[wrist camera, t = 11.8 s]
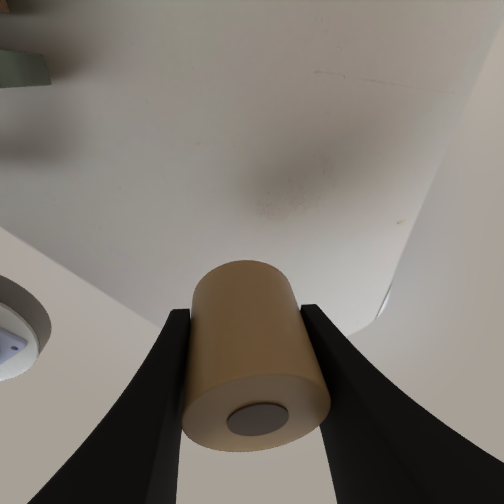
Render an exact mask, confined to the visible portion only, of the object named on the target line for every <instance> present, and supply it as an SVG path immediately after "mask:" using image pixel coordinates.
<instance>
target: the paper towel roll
mask: <svg viewBox="0 0 504 504" xmlns="http://www.w3.org/2000/svg"><path fill="white" fill-rule="evenodd" d="M190 320H191V321H190V331H189V341H188V349H187V359H186V369H185V379H184V389H183V399H182V409H181V426H182V429H183V431H184V433H185V434H186V435H187V436H188V438H189V439H191V440H192V441H194V442H195V443H197V444H199V445H201V446H204V447H207V448H210V449H214V450H219V451H228V452H250V451H258V450H265V449H270V448H274V447H278V446H281V445H284V444H287V443H290V442H292V441H294V440H297V439H299V438H301V437H303V436H305V435H306V434H308V433H309V432H311V431H313V430H314V429H315V428H316V427H318V426H319V425H320V424H321V423H322V422H323V421H324V419H325V418H326V417H327V415H328V413H329V410H330V407H331V397H330V393H329V391H328V388H327V385H326V382H325V380H324V377H323V374H322V371H321V368H320V366H319V363H318V360H317V357H316V355H315V352H314V349H313V346H312V344H311V341H310V338H309V335H308V332H307V330H306V327H305V324H304V321H303V319H302V316H301V313H300V310H299V307H298V305H297V302H296V299H295V296H294V294H293V291H292V288H291V285H290V283H289V281H288V279H287V278H286V277H285V275H284V274H283V273H282V272H280V271H279V270H278V269H276V268H275V267H273V266H271V265H269V264H266V263H263V262H259V261H253V260H241V261H234V262H229V263H226V264H223V265H221V266H218V267H217V268H215V269H213V270H211V271H210V272H209V273H207V274H206V275H205V276H204V277H203V278H202V279H201V280H200V282H199V283H198V285H197V286H196V288H195V291H194V294H193V299H192V309H191V319H190Z"/></svg>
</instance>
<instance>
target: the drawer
mask: <svg viewBox="0 0 504 504" xmlns="http://www.w3.org/2000/svg"><path fill="white" fill-rule="evenodd" d="M0 13H3V14H10V12H9V9H8V6H7V3H6V0H0ZM44 85H52V83H51V79H50V76H49V73H48V69H47V66H46V62H45V59H44V56H43V55H42V54H36V53H28V52H19V51H11V50H3V49H0V88H10V87H27V86H44Z"/></svg>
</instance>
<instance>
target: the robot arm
mask: <svg viewBox="0 0 504 504" xmlns="http://www.w3.org/2000/svg"><path fill="white" fill-rule="evenodd" d="M300 313H301V316H302V319H303V321H304V324H305V327H306V330H307V332H308V335H309V338H310V341H311V344H312V346H313V349H314V352H315V355H316V357H317V360H318V363H319V366H320V368H321V371H322V374H323V377H324V380H325V382H326V385H327V388H328V391H329V393H330V397H331V407H330V410H329V413H328V415H327V417H326V418H325V419H324V421H323V422H322V423H321V424H320V425H319V426H320V429H321V433H322V437H323V441H324V446H325V450H326V454H327V458H328V463H329V467H330V471H331V476H332V481H333V485H334V490H335V494H336V499H337V504H504V463H503V462H501V461H500V460H498V459H496V458H495V457H493V456H492V455H490V454H488V453H487V452H485V451H483V450H482V449H481V448H479V447H478V446H476V445H475V444H473V443H472V442H470V441H469V440H467V439H466V438H464V437H463V436H461V435H460V434H458V433H457V432H456V431H454V430H453V429H451V428H450V427H448V426H447V425H445V424H444V423H443V422H441V421H440V420H439V419H437V418H436V417H435V416H433V415H432V414H431V413H429V412H428V411H427V410H425V409H424V408H423V407H422V406H420V405H419V404H418V403H416V402H415V401H414V400H412V399H411V398H410V397H408V396H407V395H406V394H405V393H404V392H403V391H401V390H400V389H399V388H398V387H397V386H395V385H394V384H393V383H392V382H391V381H390V380H389V379H387V378H386V377H385V376H384V375H383V374H382V373H381V372H380V371H379V370H378V369H376V368H375V367H374V366H373V365H372V364H371V363H370V362H369V361H368V360H367V359H366V358H365V357H364V356H363V355H362V354H361V353H360V352H359V351H358V350H357V349H356V348H355V347H354V346H353V345H352V344H351V342H350V341H349V340H348V339H347V338H346V337H345V336H344V335H343V334H342V333H341V332H340V331H339V329H338V328H337V327H336V326H335V325H334V324H333V323H332V322H331V320H330V319H329V318H328V317H327V316H326V315H325V314H324V312H323V311H322V310H321V309H320V308H319V307H318V306H317V305H316V304H308V305H301V309H300ZM190 321H191V320H190V309H173V310H172V311H170V314H169V316H168V318H167V321H166V323H165V325H164V327H163V329H162V331H161V333H160V335H159V336H158V338H157V340H156V342H155V343H154V345H153V347H152V349H151V350H150V352H149V354H148V356H147V357H146V359H145V360H144V362H143V363H142V365H141V366H140V368H139V369H138V371H137V373H136V374H135V376H134V377H133V379H132V380H131V382H130V383H129V385H128V386H127V387H126V389H125V390H124V392H123V393H122V394H121V396H120V397H119V398H118V400H117V401H116V402H115V404H114V405H113V406H112V408H111V409H110V410H109V412H108V413H107V414H106V416H105V417H104V418H103V419H102V420H101V422H100V423H99V424H98V425H97V427H96V428H95V429H94V430H93V432H92V433H91V434H90V435H89V436H88V438H87V439H86V440H85V441H84V442H83V443H82V445H81V446H80V447H79V448H78V449H77V450H76V451H75V453H74V454H73V455H72V456H71V457H70V458H69V459H68V460H67V462H65V464H64V465H63V466H62V467H61V468H60V469H59V470H58V471H57V472H56V473H55V475H54V476H53V477H52V478H51V479H50V480H49V481H48V482H47V483H46V484H45V485H44V487H43V488H42V489H41V490H40V491H39V492H38V493H37V494H36V495H35V496H34V497H33V498H32V499H31V500H30V501H29V502H28V503H27V504H176V493H177V492H176V491H177V478H178V464H179V449H180V441H181V432H182V426H181V409H182V399H183V389H184V379H185V369H186V359H187V349H188V341H189V331H190ZM27 344H28V342H27V341H26V340H25V339H23V338H21V337H19V336H17V335H15V334H13V333H11V332H9V331H7V330H5V329H3V328H1V327H0V365H1V364H2V363H4V362H5V361H7V360H8V359H9V358H11V357H12V356H14V355H15V354H17V353H18V352H20V351H21V350H23V349H24V348H25V347H26V346H27Z"/></svg>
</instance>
